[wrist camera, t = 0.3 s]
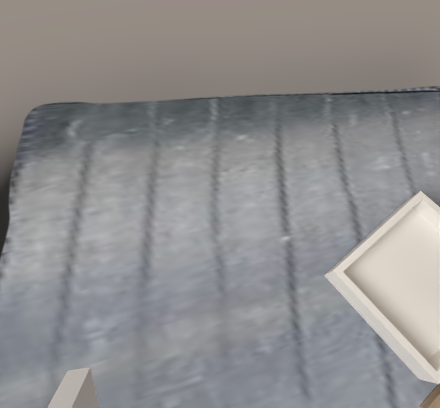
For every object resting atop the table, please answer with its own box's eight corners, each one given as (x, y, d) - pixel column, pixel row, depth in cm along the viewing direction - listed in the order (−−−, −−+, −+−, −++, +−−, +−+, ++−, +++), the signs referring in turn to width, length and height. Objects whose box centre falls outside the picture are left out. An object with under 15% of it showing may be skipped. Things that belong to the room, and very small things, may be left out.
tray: (501, 285, 46) (525, 281, 43) (419, 379, 42) (438, 384, 38) (406, 200, 52) (420, 190, 48) (323, 275, 47) (332, 270, 43)
